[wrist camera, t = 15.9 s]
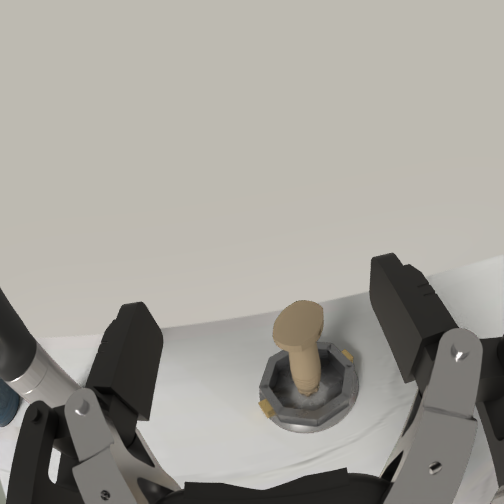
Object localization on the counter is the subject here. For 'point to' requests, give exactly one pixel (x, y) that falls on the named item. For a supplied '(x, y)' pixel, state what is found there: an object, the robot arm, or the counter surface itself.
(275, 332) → the handle
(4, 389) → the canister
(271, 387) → the grey shallow octagonal dish
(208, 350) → the counter surface
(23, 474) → the robot arm
